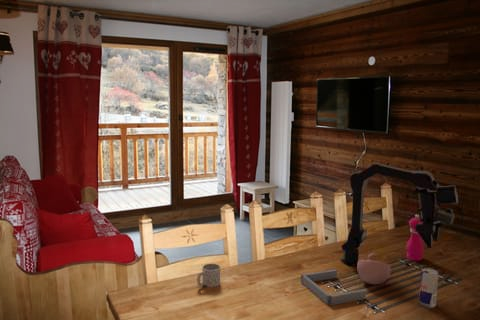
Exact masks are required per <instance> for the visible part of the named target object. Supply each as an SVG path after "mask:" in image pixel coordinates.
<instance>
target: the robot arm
mask: <svg viewBox="0 0 480 320" xmlns="http://www.w3.org/2000/svg"><path fill="white" fill-rule="evenodd" d="M375 175H382V176H385V177H389V178H393V179H397V180H402V181H406V182H407V183H410V184H412V185H414V186H416V187H415V189H414V191H412V195H418V199H419V200H418V201H419V208H418V211H419V212H420V215H421V218H420V222H419V223H418V224H417V225H416V226H415V230H416V232H417V233H419V235H420V236H421V240H423V241H424V244H425V245H426V247H427V248H428V249H432V247H433V246H432V245H433V241H434V242H438V240H439V233H440V228H441V227H442V226H443V224H445V225H452V224H453V223H454V219H455V217H456V215H455V213H454V212H453V211H454V210H453V209H451V208H447V209H446V210H441V209H440V206H439V205H437V202H438V203H440V205H453V204H455V205H457V204H458V203H459V197H458V196H459V195H458V192H457V188H456V185H455V184H452V185H445V186H444V185H443V186H441V185H440V183H438V181H436V179H435V177H434V174H432V172H430V171H427V170H407V169H403V168H399V167H394V166H391V165H387V164H381V163H380V162H375V163H373V164H372V165H371V166H369V167H367V168H366V169H364V170H359V171H357V172H354V173H352V174H351V175H350V178H349V182H350V183H349V184H350V189H351V192H352V207H351V209H352V210H351V212H352V213H351V225H350V226H351V227H350V229H349V231H348V235H347V239H346V241H345V242H344V243H343V244H342V245H341V248H342V251H343V257H342V258H340V259H339V260H340V262H341V263H344V264H345V265H347V266H349V267H350V266H355V265H357V264H358V261H359V260H360V259H359V257H360V256H359V255H360V254H359V252H360V251H359V248H360V247H361V246H362V245H363V244H364V243H365V241H366V240H367V239H368V238H367V233H368V230H367V229H364V226H363V222H364V221H363V217H364V204H365V203H364V200H365V199H364V198H365V192H366V189H367V186H368V182H369V179H370V178H372V177H373V176H375Z"/></svg>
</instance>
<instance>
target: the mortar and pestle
mask: <svg viewBox="0 0 480 320" xmlns="http://www.w3.org/2000/svg"><path fill="white" fill-rule="evenodd" d="M375 256H376V253H375V252H373V253H370V254H368V256H367V259H359V260H358V264H357V266H356V268H357V269H356V270H357V272H358V275H359V277H360V278H361V280H362V281H363V282H365V283H367V284H369V285H374V286H375V285H376V286H377V285H381V284H383V283H385V282H386V281H387V280H388V278H389V276H390V274H391V265H390V264H389V263H386V262H384V261H383V262H382V261H377V260H372V258H373V257H375Z"/></svg>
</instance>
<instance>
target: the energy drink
mask: <svg viewBox="0 0 480 320" xmlns="http://www.w3.org/2000/svg"><path fill="white" fill-rule="evenodd" d="M419 278H420V280H419V281H420V282H419V293H418V303H419V305H420V306H422V307H424V308H427V309H428V308H429V309H432V308H435V307H436V306H437V296H438V281H439V273H438V271H437V270H436V269H434V268H428V267H426V268H425V267H424V268H421V271H420V277H419Z"/></svg>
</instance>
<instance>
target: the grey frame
mask: <svg viewBox="0 0 480 320" xmlns="http://www.w3.org/2000/svg"><path fill="white" fill-rule="evenodd" d="M300 275H301V276H300V282H301V284H302V285H304V286H305V287H306V288H307V289H308V290H309V291H311V292H312V293H313V294H314V295H315V296H317V297H318V299H320V300H321V301H322V302H324V304H326V305H327V306H334V305H340V304H345V303H350V302H356V301H360V300H365V299H367V290H366V289H365V288H363V289H358V290H353V291H347V292H341V293H335V294H329V293H328V292H327V291H325V290H324V289H323V288H322V287H320V286H319V285H318V284H317V283H316V282H318V281H326V280H332V279H337V278H338V276H337V275H338V270H337V269H330V270H329V269H328V270H322V271H316V272H309V273H303V274H300Z"/></svg>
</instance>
